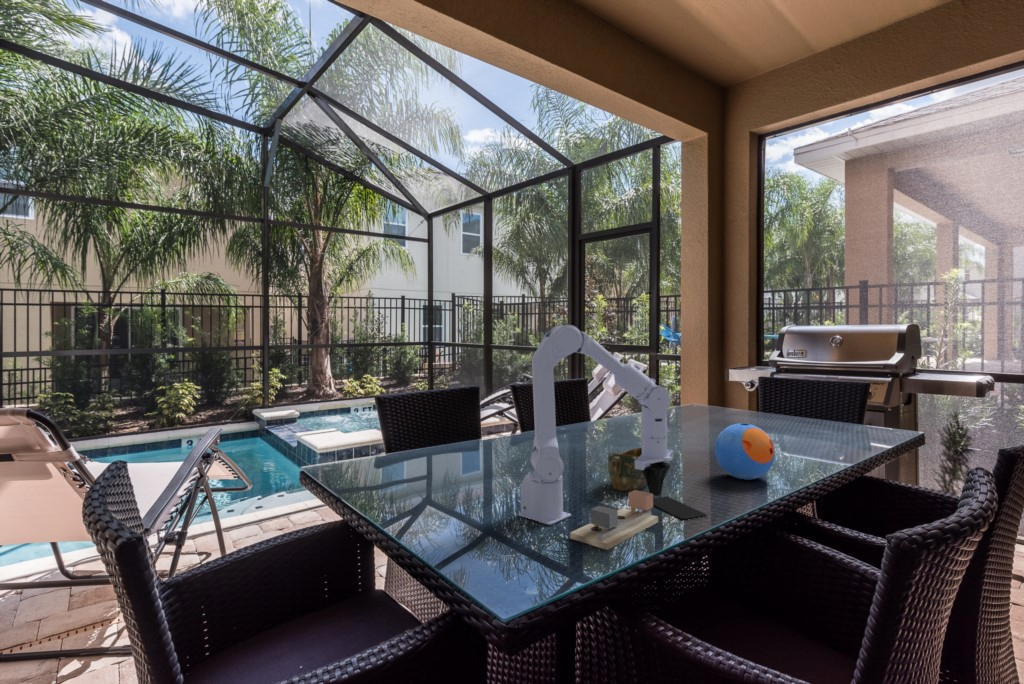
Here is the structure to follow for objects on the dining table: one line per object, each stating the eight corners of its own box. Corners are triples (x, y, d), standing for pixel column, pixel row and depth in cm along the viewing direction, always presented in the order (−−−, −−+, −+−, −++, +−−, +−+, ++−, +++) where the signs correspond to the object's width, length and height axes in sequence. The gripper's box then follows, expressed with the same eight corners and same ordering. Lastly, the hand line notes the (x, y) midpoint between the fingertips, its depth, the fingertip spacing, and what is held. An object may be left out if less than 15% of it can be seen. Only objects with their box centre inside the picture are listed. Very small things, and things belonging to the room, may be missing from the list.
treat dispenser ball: (747, 469, 161) (746, 418, 161) (788, 482, 146) (787, 426, 146) (703, 474, 156) (703, 421, 156) (741, 489, 142) (740, 430, 141)
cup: (585, 484, 148) (585, 448, 148) (641, 475, 157) (641, 440, 157) (616, 497, 137) (616, 457, 136) (674, 486, 146) (674, 449, 146)
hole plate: (570, 538, 110) (570, 532, 110) (622, 513, 125) (622, 507, 125) (607, 550, 104) (607, 543, 104) (658, 522, 119) (658, 516, 119)
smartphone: (682, 519, 119) (643, 499, 133) (682, 522, 119) (643, 503, 133) (707, 514, 121) (667, 496, 136) (707, 518, 122) (667, 499, 136)
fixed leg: (590, 529, 111) (589, 509, 111) (598, 525, 113) (598, 505, 113) (609, 534, 108) (609, 514, 108) (617, 530, 110) (617, 510, 110)
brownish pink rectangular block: (627, 511, 122) (627, 492, 122) (634, 507, 124) (634, 489, 124) (646, 515, 118) (646, 496, 118) (653, 512, 121) (652, 493, 121)
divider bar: (597, 539, 106) (597, 533, 106) (646, 514, 120) (646, 509, 120) (602, 541, 106) (602, 535, 106) (651, 515, 119) (651, 510, 119)
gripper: (654, 443, 117) (655, 505, 118) (684, 433, 128) (685, 490, 128) (626, 439, 122) (627, 499, 123) (657, 430, 133) (658, 485, 133)
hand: (655, 494), depth 126 cm, fingers closed
